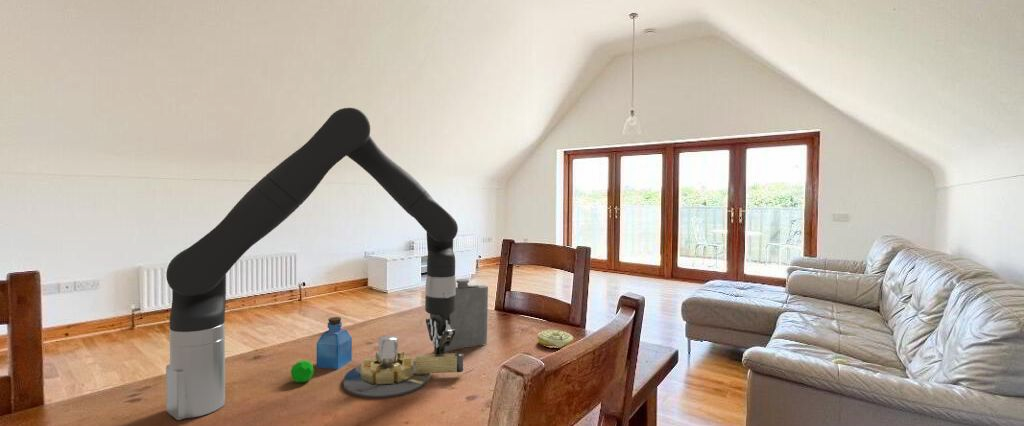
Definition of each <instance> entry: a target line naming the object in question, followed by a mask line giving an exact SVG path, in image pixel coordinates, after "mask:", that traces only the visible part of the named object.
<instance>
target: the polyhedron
mask: <svg viewBox="0 0 1024 426" xmlns="http://www.w3.org/2000/svg"><path fill="white" fill-rule="evenodd" d="M290 374H291V378H292V380H293V381H294V382H296V383H300V384H301V383H306V382H307V381H308V380H309V379H310V380H311V378H313V375H314V374H315V369H314V366H313V363H312V362H310V361H309V360H306V359H305V360H304V359H303V360H300V361H298V362H297V363H295V364H293V365H292V367H291V369H290Z"/></svg>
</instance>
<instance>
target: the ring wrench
mask: <svg viewBox="0 0 1024 426" xmlns="http://www.w3.org/2000/svg"><path fill="white" fill-rule="evenodd" d="M414 361H415V374H426V373H430V374H444V373H446V374H447V373H462V372H463V371H464V353H462V352H456V353H455V352H454V353H450V352H449V353H445V354H434V353H428V354H425V353H424V354H415V359H413V357H412V356H407V355H405V351H404V350H398V353H397V363H394V364H392V369H381V364H379V351H377V352H375V356H373V357H364V359H363V361H362V364H361V365H362V366H361V365H360V366H361V378H362V380H364V381H367V382H369V383H371V384H373V383H376V384H394V381H395V382H397V383H398V382H401V381H403V380H405V379H408V378H410V377H411V376H413V371H414Z"/></svg>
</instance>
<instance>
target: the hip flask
mask: <svg viewBox="0 0 1024 426" xmlns="http://www.w3.org/2000/svg"><path fill="white" fill-rule="evenodd" d="M469 282H470V280H469V279H468V278H458V279H456V283H457V284H456V302H455V311H454V312H453V313H451V314H450V320H451V324H450V327H451V330H452V329H455V335H454V337H453V339H452V341H451V343H450V345H449V346H445V353H446V352H450V351H454V350H459V349H463V348H464V347H465V348H471V347H478V346H477V345H480V346H484V345H483V344H486V343H487V344H488V310H489V309H488V307H489V306H488V305H489V303H488V302H489V299H488V298H489V286H488V285H483V284H482V285H478V284H472V285H471V284H469ZM487 344H486V345H487ZM470 346H471V347H470ZM465 348H464V349H465Z"/></svg>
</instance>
